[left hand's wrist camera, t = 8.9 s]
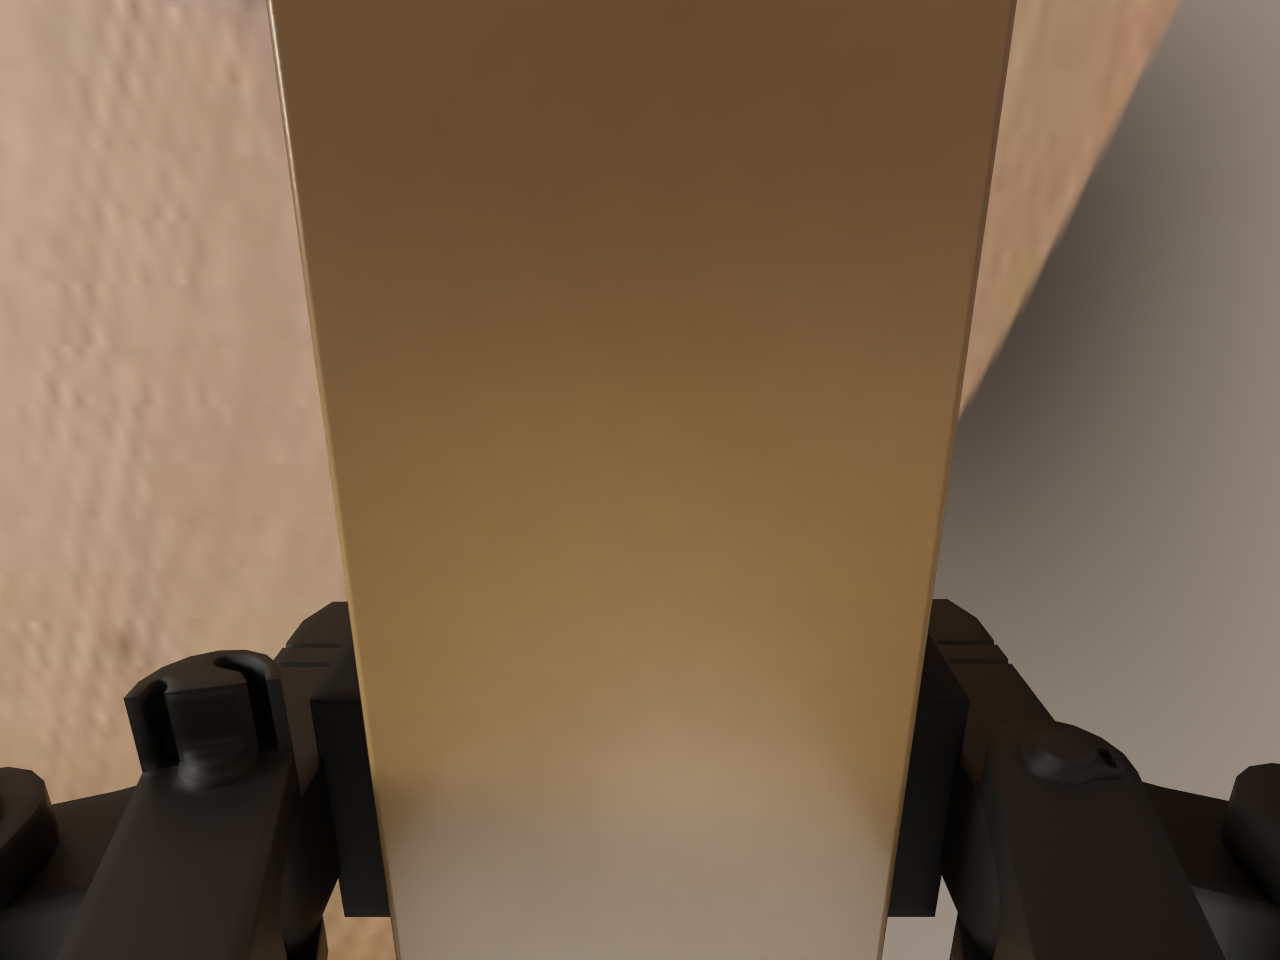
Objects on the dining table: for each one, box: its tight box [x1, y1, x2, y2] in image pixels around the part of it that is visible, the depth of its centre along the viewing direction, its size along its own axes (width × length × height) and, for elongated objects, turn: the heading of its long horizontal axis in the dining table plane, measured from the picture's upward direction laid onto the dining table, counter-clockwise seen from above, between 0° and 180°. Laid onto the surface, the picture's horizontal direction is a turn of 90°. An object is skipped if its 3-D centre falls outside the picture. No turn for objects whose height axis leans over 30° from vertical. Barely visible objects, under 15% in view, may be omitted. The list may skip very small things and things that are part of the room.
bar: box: [266, 0, 1017, 960], centre depth 9 cm, size 21×5×8 cm, turn 0°
